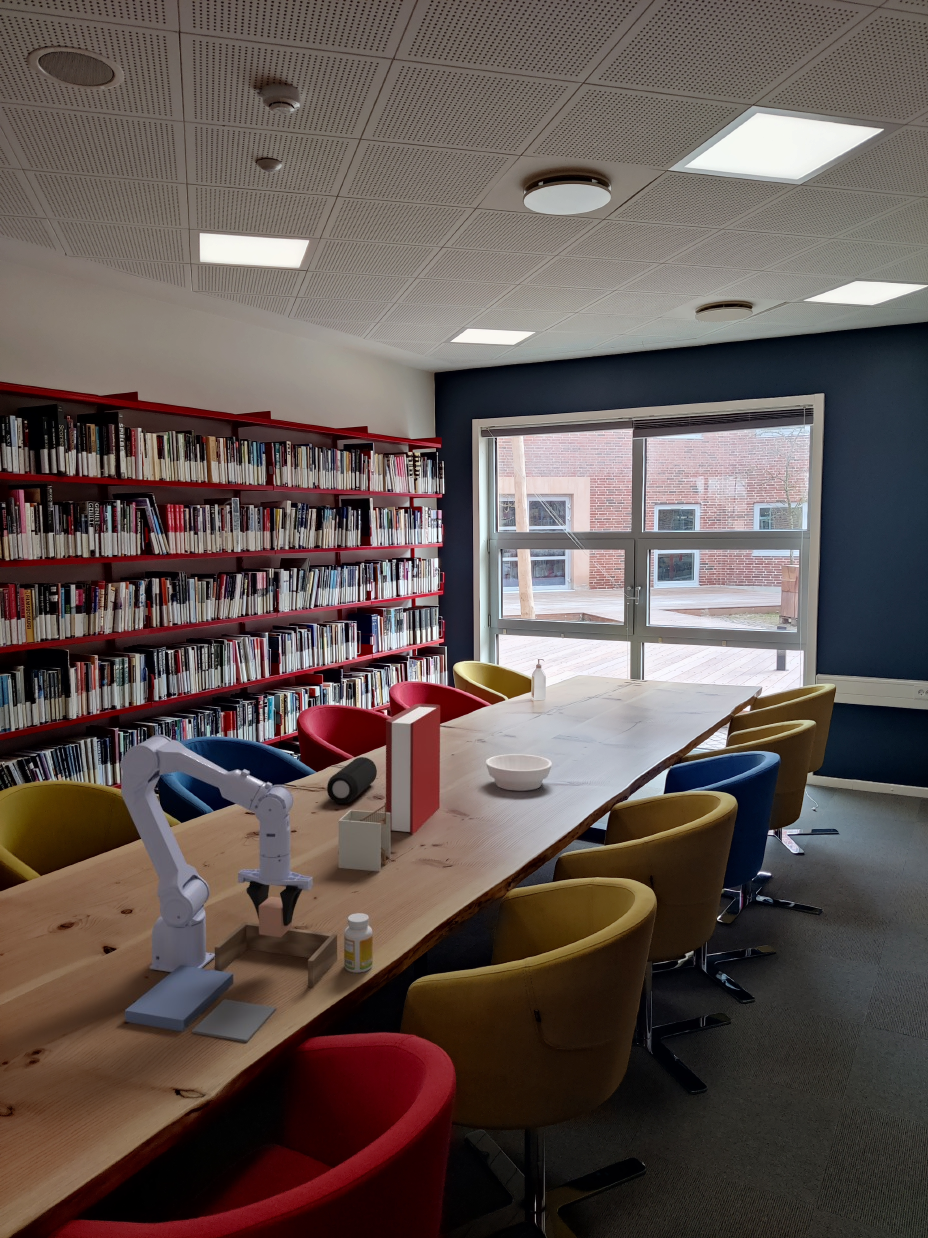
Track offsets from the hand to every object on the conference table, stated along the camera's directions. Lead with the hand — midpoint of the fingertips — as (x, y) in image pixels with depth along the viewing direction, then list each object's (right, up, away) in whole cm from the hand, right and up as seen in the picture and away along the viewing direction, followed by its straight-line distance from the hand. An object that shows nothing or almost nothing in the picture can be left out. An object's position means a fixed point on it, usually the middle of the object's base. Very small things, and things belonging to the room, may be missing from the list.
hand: (275, 922), depth 159 cm
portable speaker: (0, 0, +114) cm, 114 cm away
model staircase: (+11, -5, +54) cm, 55 cm away
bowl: (+54, 0, +125) cm, 136 cm away
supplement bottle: (+16, -9, +1) cm, 18 cm away
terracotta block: (0, -2, 0) cm, 2 cm away
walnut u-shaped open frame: (0, -9, +1) cm, 9 cm away
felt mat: (-3, -10, -18) cm, 21 cm away
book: (+21, -2, +89) cm, 92 cm away
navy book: (-14, -10, -12) cm, 21 cm away
